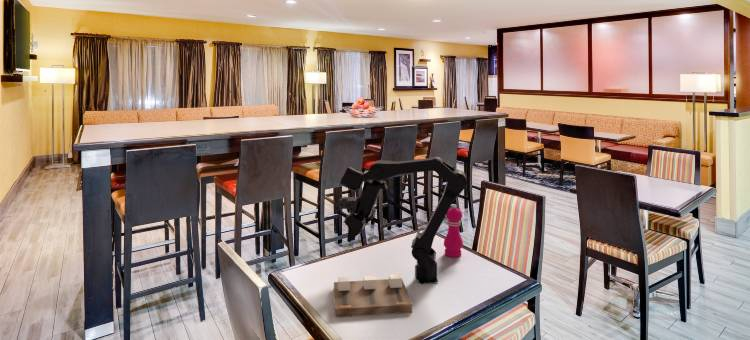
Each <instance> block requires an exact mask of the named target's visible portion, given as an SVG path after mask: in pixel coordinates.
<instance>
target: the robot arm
mask: <svg viewBox="0 0 750 340" xmlns="http://www.w3.org/2000/svg"><path fill="white" fill-rule="evenodd" d="M431 171H432V172H433V171H434V172H435V173H436V174H437V175H439V177H441V179H442V180H444V181H445V182H446V183H445V186H444V190H443V193H442V196H441V198H440V200H439V202H438V203H437V205H436V207H435V209H434V211H433V213H432V214H431V216H430V219H429V221H428V223H427V224H426V226H425V228H424V230H423V231H422V232H420V231H417V233H416V234H415V237H414V239H412V242H411V246H410V247H411V248H410V249H411V256H412V257H413V258H414V260H416V264H415V265H414V278H415V279H416V281H417V282H418V284H421V285H422V284H438V283H439V280H438V277H437V276H438V262H437V261H436V258H437V252H436V250H435V249H434V248H432V247H433V243H434V239H435V236H436V235H437V232H438V231H439V229H440V226H441V225H442V223H443V221H444V219H445V218H446V214H447V212H448V210H449V209H450V208H451V207H452V205H453V204H454V201H455V200H456V199H457V198H458V196H460V195H461V194H462V192H463V191H464V189H465V188H466V187H467V183H468V182H467V174H466V173H465V172H464V171H463V170H462V169H456V168H454V167H453V166H452V165H450V164H449V163H447V162H445V161H444V160H443V159H442V158H441V157H439V156H433V157H428V158H419V159H413V160H411V159H410V160H403V161H395V160H382V159H379V160H378V159H377V160H376V161H374V162H373V163H372V164H371V165H370V167H369V168H368V169H365V171H364V172H363V171H359V170H357V169H355V168H353V167H351V166H348V167H347V168H346V170H345V172H344V174H343V176H342V177H341V178H340V179H341V180H340V182H339V185H340V186H341V187H344V188H346V189H348V190H351V191H353V192H357V191H358V190H359V191H360V195H359V196H358V197H353V196H342V197H341V198H339V201H338V203H337V204H338V206H339V209H340V210H344V209H345V210H351V212H352V213H349V214H348V215H346V216H345V218H344V221H343V223H344V225H345V226H347V228H348V229H347V239H346V242H347V243H351V242H352V241H353V240H354V239H355V238H356V237H357V236H358V235H359V234H360V233H361V232H362V231H363V230H364V228H365V227H366V226H367V225H368V224H369V223H370V222H371V220H372V219H373V218H374V217H375V215H376V213H377V210H376V207H375V205H376V204H377V202H378V198H379V195H380V192H381V190H383V191H387V190H388V188H389V186H388V185H387V182H386V179H390V178H393V177H395V176H398V175H399V176H400V175H406V174H414V173H416V174H417V173H422V172H423V173H425V172H431ZM362 186H363V187H362Z"/></svg>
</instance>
